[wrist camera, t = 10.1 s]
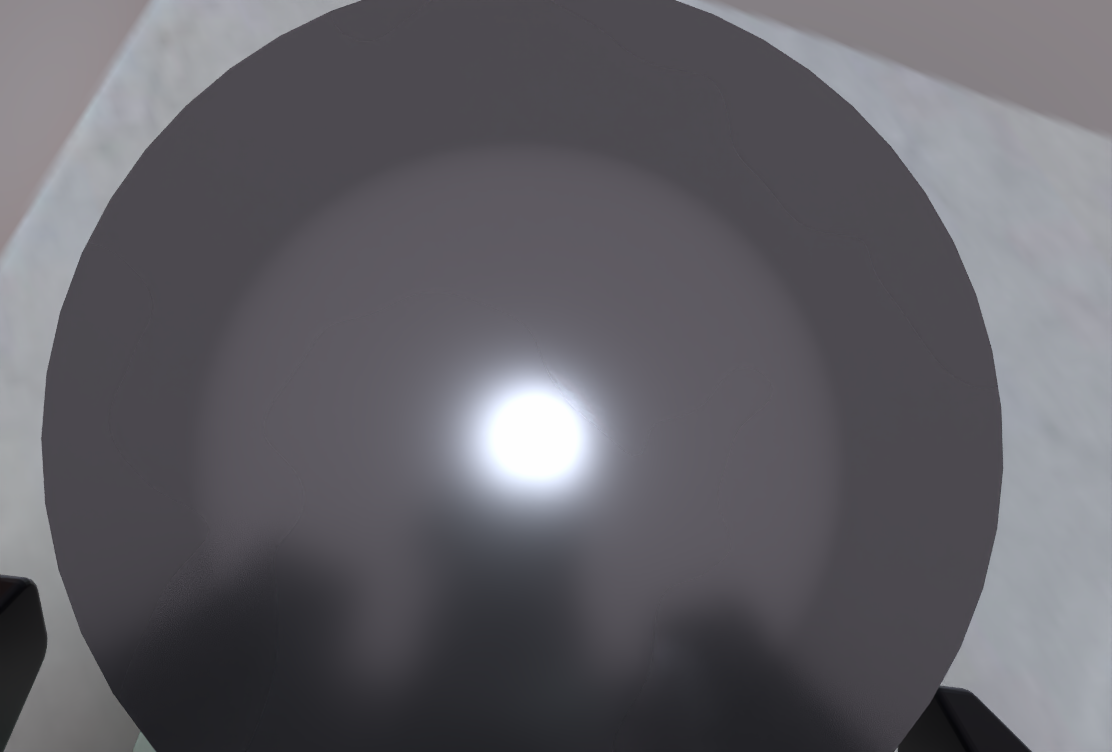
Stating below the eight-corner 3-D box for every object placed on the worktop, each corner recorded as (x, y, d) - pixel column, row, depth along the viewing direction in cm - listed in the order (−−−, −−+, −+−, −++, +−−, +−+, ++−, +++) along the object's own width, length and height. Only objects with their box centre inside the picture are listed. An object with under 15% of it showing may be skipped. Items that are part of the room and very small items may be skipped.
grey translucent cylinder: (701, 662, 17) (1314, 864, 5) (361, 755, 16) (-34, 1312, 4) (615, 341, 18) (909, -194, 6) (296, 411, 18) (-163, -38, 5)
